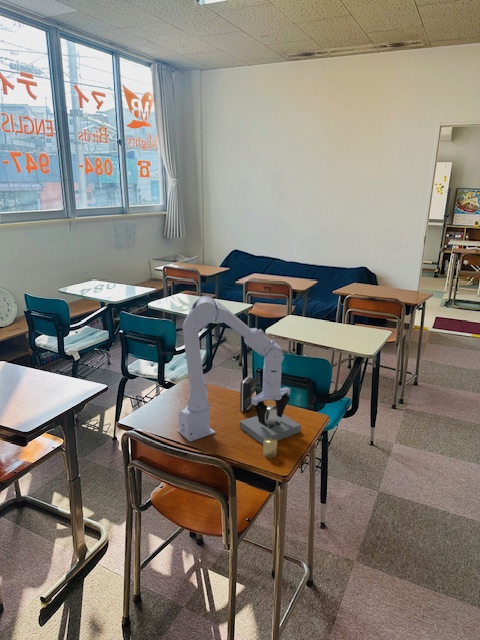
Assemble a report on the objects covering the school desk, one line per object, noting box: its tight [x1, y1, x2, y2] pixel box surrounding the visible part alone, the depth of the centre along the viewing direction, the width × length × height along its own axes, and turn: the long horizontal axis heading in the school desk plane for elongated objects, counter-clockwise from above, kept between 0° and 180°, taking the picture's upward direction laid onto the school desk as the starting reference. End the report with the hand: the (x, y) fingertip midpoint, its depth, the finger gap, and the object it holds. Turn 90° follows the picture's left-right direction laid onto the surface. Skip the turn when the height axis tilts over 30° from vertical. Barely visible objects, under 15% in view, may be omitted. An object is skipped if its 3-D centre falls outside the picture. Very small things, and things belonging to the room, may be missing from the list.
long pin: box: [264, 404, 277, 429], centre depth 143 cm, size 4×4×8 cm
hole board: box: [239, 414, 302, 446], centre depth 144 cm, size 15×13×2 cm
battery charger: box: [239, 376, 257, 413], centre depth 157 cm, size 7×4×11 cm, turn 157°
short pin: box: [262, 437, 278, 459], centre depth 130 cm, size 4×4×4 cm
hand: (270, 419), depth 143 cm, fingers open, 7 cm apart
